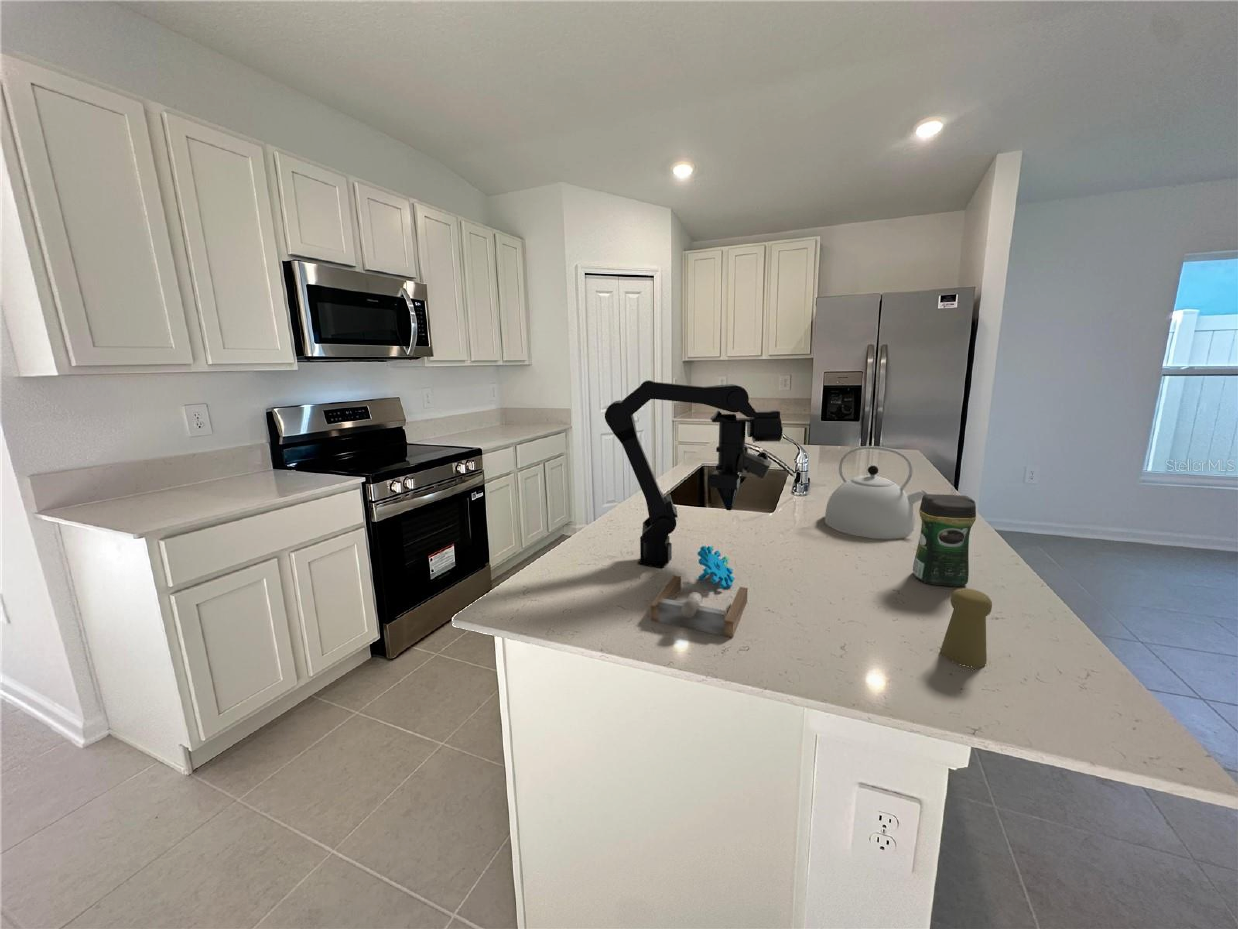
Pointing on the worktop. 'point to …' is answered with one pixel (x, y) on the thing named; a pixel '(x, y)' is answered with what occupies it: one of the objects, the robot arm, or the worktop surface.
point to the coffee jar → (944, 539)
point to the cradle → (697, 611)
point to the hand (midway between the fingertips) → (729, 509)
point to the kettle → (873, 504)
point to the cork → (967, 628)
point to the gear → (715, 567)
